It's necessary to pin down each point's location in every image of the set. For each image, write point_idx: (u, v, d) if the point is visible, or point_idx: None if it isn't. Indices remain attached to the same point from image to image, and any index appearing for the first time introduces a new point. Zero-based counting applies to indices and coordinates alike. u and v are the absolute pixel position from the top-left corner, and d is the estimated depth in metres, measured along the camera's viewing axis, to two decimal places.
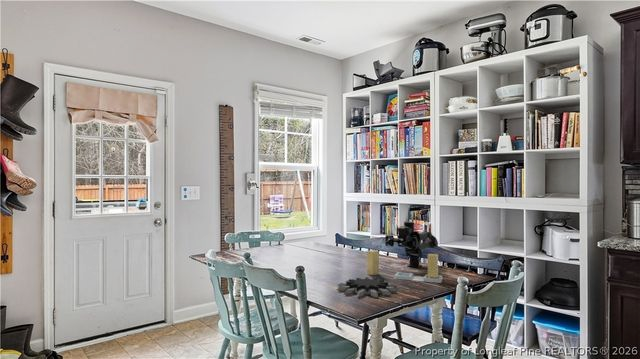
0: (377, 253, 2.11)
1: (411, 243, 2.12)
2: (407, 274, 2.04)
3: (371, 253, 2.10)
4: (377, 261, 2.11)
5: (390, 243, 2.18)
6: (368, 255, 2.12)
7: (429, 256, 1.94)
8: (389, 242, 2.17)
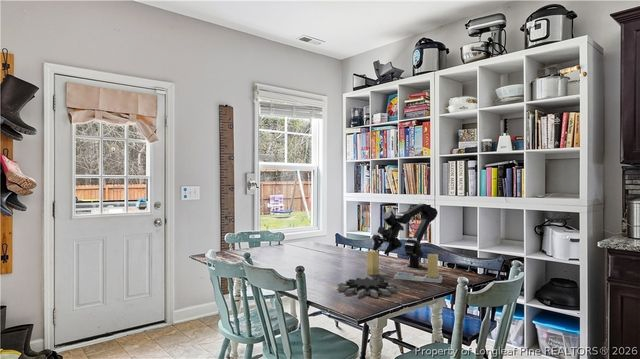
0: (377, 253, 2.11)
1: (394, 245, 2.11)
2: (407, 274, 2.04)
3: (371, 253, 2.10)
4: (377, 261, 2.11)
5: (378, 245, 2.21)
6: (368, 255, 2.12)
7: (429, 256, 1.94)
8: (376, 246, 2.20)
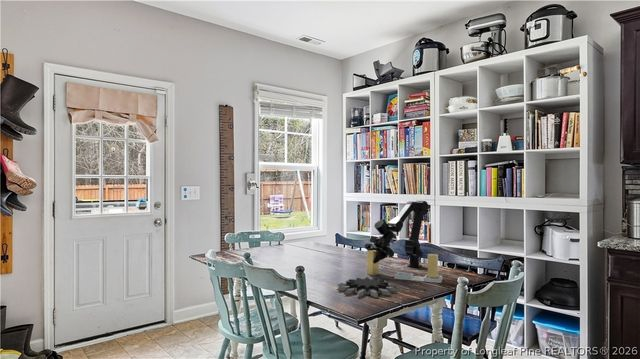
0: (377, 253, 2.11)
1: (383, 254, 2.10)
2: (407, 274, 2.04)
3: (371, 253, 2.10)
4: None
5: None
6: (368, 255, 2.12)
7: (429, 256, 1.94)
8: None
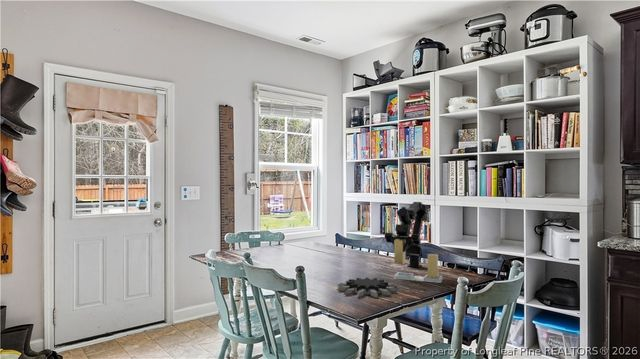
0: (404, 241, 2.07)
1: (410, 242, 2.08)
2: (407, 274, 2.04)
3: (400, 242, 2.05)
4: None
5: None
6: (396, 244, 2.06)
7: (429, 256, 1.94)
8: None
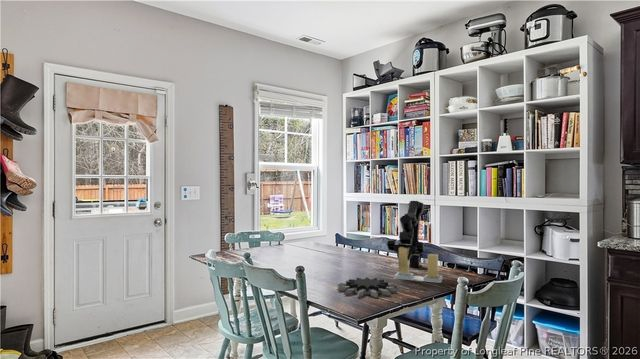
0: (408, 249, 2.02)
1: (414, 249, 2.03)
2: (407, 274, 2.04)
3: (405, 250, 1.99)
4: None
5: None
6: (401, 252, 2.00)
7: (429, 256, 1.94)
8: None
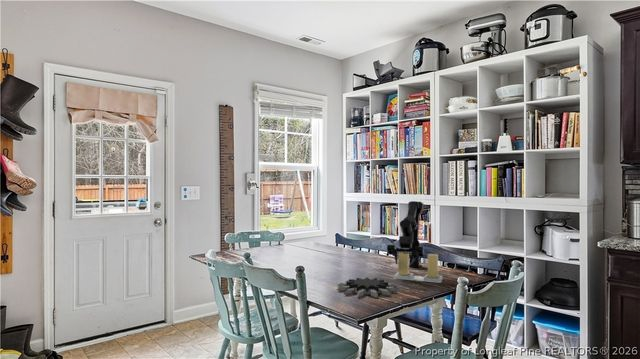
0: (408, 254, 2.02)
1: (416, 254, 2.02)
2: None
3: (405, 255, 1.99)
4: (408, 263, 2.02)
5: (397, 256, 2.06)
6: (400, 257, 2.00)
7: (429, 256, 1.94)
8: (397, 257, 2.04)
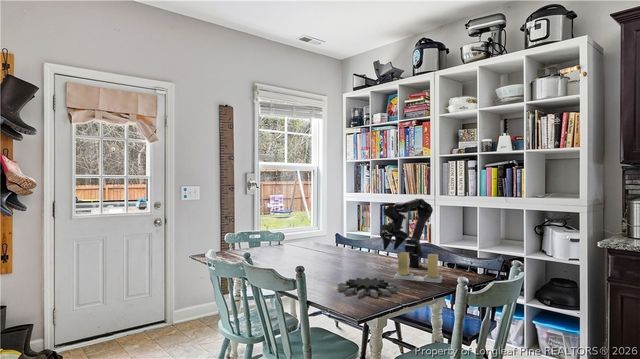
0: (408, 254, 2.02)
1: (400, 238, 2.10)
2: None
3: (405, 255, 1.99)
4: (408, 263, 2.02)
5: (388, 241, 2.20)
6: (400, 257, 2.00)
7: (429, 256, 1.94)
8: (386, 243, 2.19)
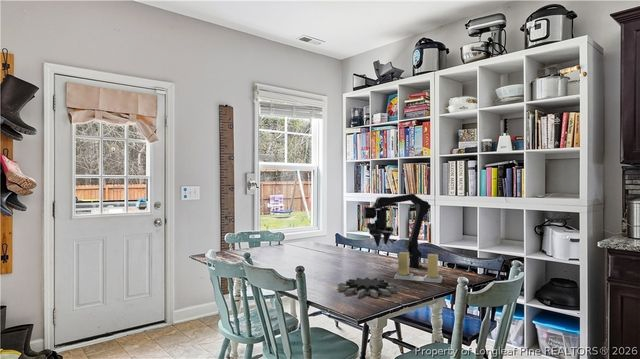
0: (408, 254, 2.02)
1: None
2: None
3: (405, 255, 1.99)
4: (408, 263, 2.02)
5: (387, 235, 2.32)
6: (400, 257, 2.00)
7: (429, 256, 1.94)
8: (385, 238, 2.32)
